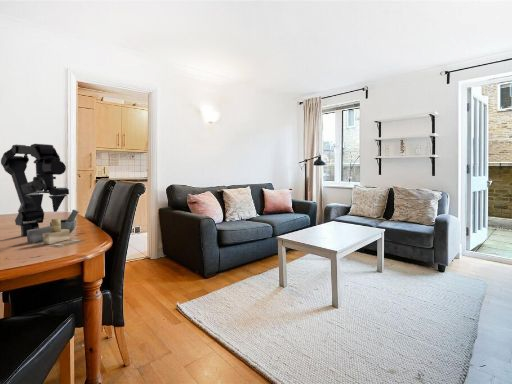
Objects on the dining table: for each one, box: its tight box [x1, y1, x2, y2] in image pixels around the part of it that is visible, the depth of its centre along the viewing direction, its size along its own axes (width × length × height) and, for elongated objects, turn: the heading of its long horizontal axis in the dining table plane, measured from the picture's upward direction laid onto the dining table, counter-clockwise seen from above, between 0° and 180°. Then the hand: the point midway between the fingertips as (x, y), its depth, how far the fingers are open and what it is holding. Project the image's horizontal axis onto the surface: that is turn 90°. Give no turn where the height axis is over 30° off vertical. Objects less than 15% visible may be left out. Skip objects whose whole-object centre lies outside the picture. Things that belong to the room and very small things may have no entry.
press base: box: [23, 225, 87, 249], centre depth 114 cm, size 19×12×6 cm, turn 75°
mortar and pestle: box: [49, 209, 80, 234], centre depth 130 cm, size 11×9×12 cm
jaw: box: [43, 218, 71, 244], centre depth 114 cm, size 3×9×9 cm, turn 165°
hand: (46, 211), depth 119 cm, fingers open, 9 cm apart
